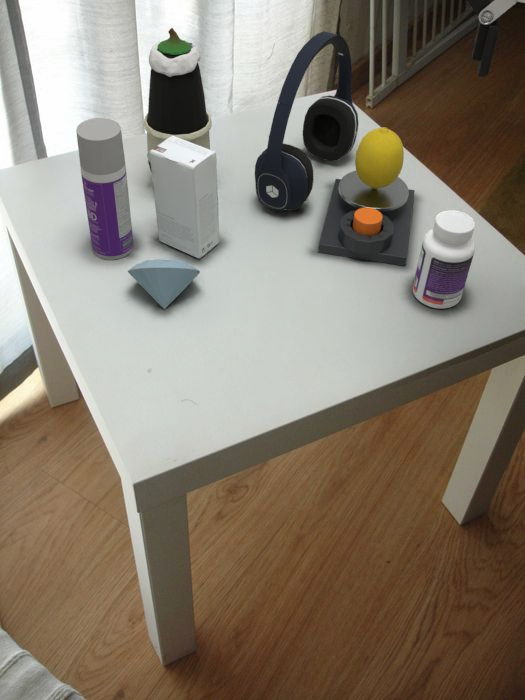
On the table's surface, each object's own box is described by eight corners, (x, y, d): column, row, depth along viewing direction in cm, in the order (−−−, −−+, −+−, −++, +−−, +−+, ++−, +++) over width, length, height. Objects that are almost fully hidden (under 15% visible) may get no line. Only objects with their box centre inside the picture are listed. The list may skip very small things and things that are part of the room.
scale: (413, 198, 99) (417, 177, 97) (404, 269, 89) (408, 248, 87) (334, 186, 100) (337, 166, 98) (317, 255, 90) (319, 234, 88)
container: (84, 253, 89) (65, 134, 78) (105, 230, 92) (90, 113, 81) (120, 264, 88) (107, 145, 77) (140, 241, 91) (130, 123, 80)
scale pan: (410, 178, 97) (411, 174, 96) (405, 216, 91) (406, 213, 91) (343, 168, 98) (343, 164, 97) (333, 205, 92) (334, 202, 92)
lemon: (367, 206, 91) (377, 145, 86) (342, 181, 95) (350, 121, 89) (406, 195, 93) (418, 134, 88) (380, 171, 97) (391, 112, 91)
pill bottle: (471, 299, 86) (493, 226, 79) (435, 316, 83) (454, 243, 77) (437, 272, 89) (455, 199, 82) (401, 288, 87) (417, 215, 80)
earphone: (314, 137, 108) (327, 3, 95) (360, 151, 106) (380, 16, 93) (244, 209, 96) (248, 66, 83) (294, 227, 94) (307, 82, 81)
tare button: (381, 222, 91) (383, 209, 89) (378, 238, 88) (381, 225, 87) (354, 217, 91) (356, 205, 90) (350, 234, 89) (352, 221, 88)
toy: (140, 199, 96) (127, 39, 82) (157, 165, 102) (147, 9, 88) (204, 208, 96) (202, 48, 82) (218, 172, 101) (217, 17, 87)
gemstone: (192, 306, 78) (192, 256, 78) (118, 307, 79) (117, 258, 79) (206, 311, 86) (206, 265, 86) (138, 312, 87) (138, 267, 87)
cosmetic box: (220, 242, 91) (220, 150, 82) (197, 262, 88) (195, 168, 80) (178, 223, 93) (174, 131, 85) (154, 242, 91) (148, 149, 82)
